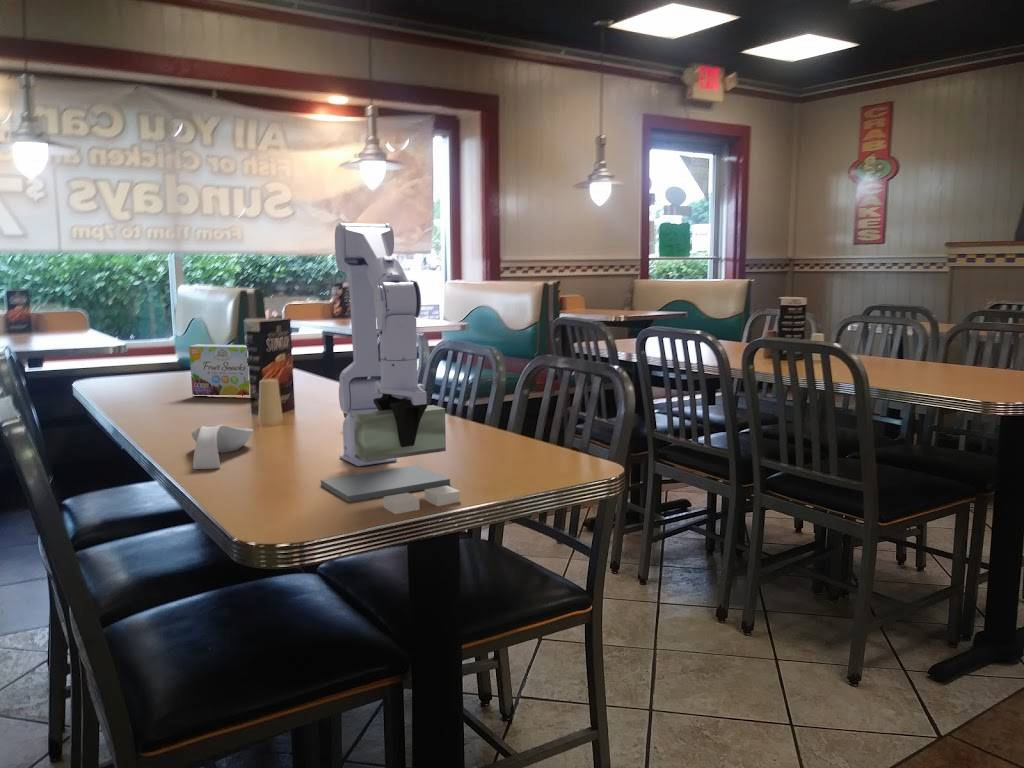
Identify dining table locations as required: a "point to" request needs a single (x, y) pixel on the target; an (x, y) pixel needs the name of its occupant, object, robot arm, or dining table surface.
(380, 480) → the slate board
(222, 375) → the snack box
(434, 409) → the block
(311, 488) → the dining table surface
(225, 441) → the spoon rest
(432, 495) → the chalk tile
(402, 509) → the chalk tile
